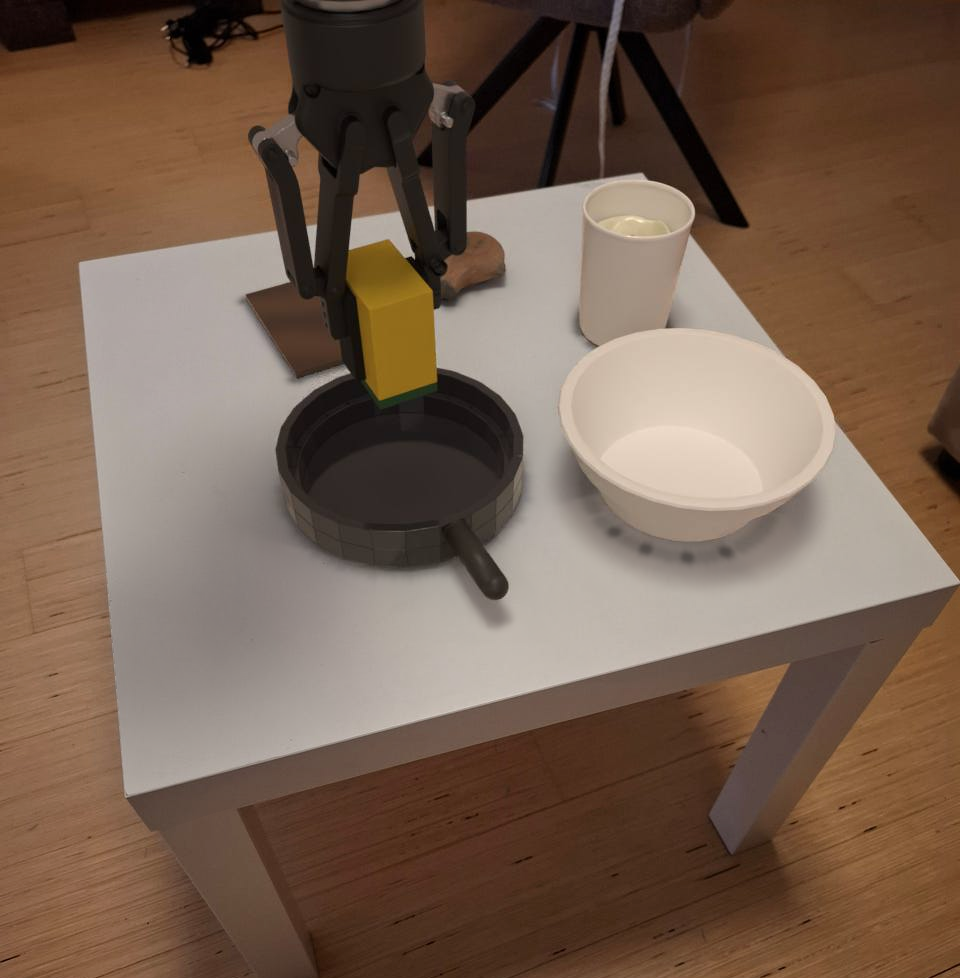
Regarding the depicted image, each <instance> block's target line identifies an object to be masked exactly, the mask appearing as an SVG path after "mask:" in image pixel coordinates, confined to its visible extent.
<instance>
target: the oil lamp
mask: <svg viewBox="0 0 960 978" xmlns="http://www.w3.org/2000/svg"><path fill="white" fill-rule="evenodd" d="M505 258H506V255H505V250H504V248H503V245H502V244H501V242H499V240H498V239H496V238H495V237H493V236H492V235H491V234H488V233H486V232H483V231H473V230H472V231H471V230H470V231H467V247H466V250H465V252H464V253H463V254H461V255H459V256H455V255H453V254H452V255H451V256H449V257H448V258H447V259H445V260H444V261H445V262H446V263H447V265H448V270H447V272H446V273H445V275H443V276H442V277H441V299H442V300H444V299H448V300H453V299H455V298H456V296H457V295H458V293H459V292H460V291H461V290H462V289H464V288H466V287H468V286H472V285H477V284H479V283H482V282H486V281H489V280H491V279H494V278H497V277H499V278H500V277H501V276H503V275H504V274H505V273H506V272H507V269H506V262H505V260H506V259H505Z"/></svg>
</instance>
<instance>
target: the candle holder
mask: <svg viewBox="0 0 960 978" xmlns="http://www.w3.org/2000/svg"><path fill="white" fill-rule="evenodd" d="M581 212H582V222H581V223H582V224H581V225H582V227H581V253H580V254H581V255H580V277H579V278H580V279H579V311H578V313H579V318H578V319H579V321H578V322H579V328H580V330H581V333H582V334H583V335H584V337H585V338H586V339H588V341H590V342H591V343H593V344H594V345H596V346H597V347H599V346H601V345H603V344H605V343H607V342H610V341H612V340H614V339H616V338H619V337H623V336H626V335H629V334H633V333H636V332H642V331H648V330H655V329H666V327H667V323H668V320H669V316H670V312H671V309H672V305H673V301H674V297H675V293H676V289H677V285H678V282H679V278H680V273H681V269H682V264H683V261H684V257H685V254H686V249H687V246H688V243H689V238H690V233H691V230H692V226H693V223H694V221H695V219H696V209H695V206H694V203H693V202H692V200H691V199H690V198H689V197H688V196H687V195H686V194H685V193H683V192H682V191H680V190H679V189H678V188H675V187H673V186H672V185H668V184H665V183H662V182H659V181H653V180H648V179H640V178H639V179H638V178H635V179H634V178H633V179H629V178H627V179H617V180H613V181H608V182H606V183H603V184H600V185H597V186H596V187H594V188H593V189H592V190H591V191H589V192H588V193H587V195H585V197H584V199H583V201H582V205H581Z"/></svg>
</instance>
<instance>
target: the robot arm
mask: <svg viewBox="0 0 960 978" xmlns="http://www.w3.org/2000/svg"><path fill="white" fill-rule="evenodd" d="M279 6H280V11H281V12H280V13H281V18H282V26H283V32H284V37H285V38H284V39H285V45H286V52H287V57H288V64H289V70H290V76H291V83H292V84H291V85H292V88H291V93H290V97H289V99H288V100H289V101H288V104H287V114H286V115H285V116H284V117H282V118H280V119H279V120H277V121H276V122H275V123H274V124H272V125H270V126H269V127H267V128H266V127H264V126H262V125H257V124H256V125H254V126H252V127H251V128H250V129H249V131H248V134H247V140H248V143H249V144H250V146H251V148H252V149H253V151H254V153H255V154H256V156H257V157H258V159H259V162H260V163H261V165H262V166H263V168H264V172H265V178H266V183H267V187H268V192H269V197H270V202H271V206H272V212H273V217H274V222H275V227H276V232H277V237H278V241H279V247H280V252H281V256H282V261H283V267H284V272H285V275H286V278H287V279H288V281H289V282H291V283H292V285H293V286H294V288H295V289H296V291H297V292H298V293H299V295H300V296H301V297H302V298H303V299H306V300H307V299H311V298H313V297H314V296H319V299H320V306H321V311H322V318H323V324H324V326H325V327H326V328H327V330H328V331H329V333H330V334H331V336H332V337H333V339H334V340H338V339H339V341H340V348H341V355H342V361H343V363H344V364H343V365H344V366H345V367H346V369H347V370H348V372H349V374H350V373H351V374H352V376H353V377H354V379H355V380H356V382H360V381H363V380H366V373H365V364H364V356H363V348H362V340H361V332H360V324H359V316H358V308H357V300H356V296H355V295H354V294H353V292H352V291H351V290H350V288H349V287H348V286H347V284H346V273H347V262H348V252H349V250H350V241H351V233H352V231H351V230H352V221H353V211H354V199H355V196H356V195H358V193H359V187H360V176H361V175H363V174H365V173H367V172H368V171H371V170H372V169H374V168H385V169H386V172H387V175H388V179H389V182H390V185H391V187H392V191H393V195H394V198H395V200H396V204H397V207H398V211H399V214H400V217H401V220H402V223H403V227H404V230H405V233H406V235H407V239H408V243H409V245H410V249H411V251H412V253H413V254H414V257H413V255H411V256H407V257H404V258H405V259H406V260H407V261H408V262H409V263H410V265H411V266H412V267H413V268H414V269H415V271H416V272H417V273H418V274H419V275H420V277H421V278H422V279H423V280H424V281H425V282H426V284H427V285H428V286H429V287H430V288H431V290H432V291H433V306H434V311H435V310H438V309H440V307H441V304H442V300H443V299H441V277H442V276H443V275H445V273H446V272H447V270H448V265H447V263H446V262H445V261H444V260H445V259H447V258H448V257H449V256H451V255H452V254H453V255H455V256H459V255H461V254H463V253H464V252H465V250H466V247H467V232H468V197H467V196H468V193H467V191H468V187H467V186H468V185H467V183H468V182H467V181H468V177H467V176H468V175H467V173H468V172H467V171H468V170H467V168H468V167H467V165H468V164H467V163H468V161H467V153H468V152H467V150H468V149H467V138H468V135H469V131H470V127H471V124H472V121H473V117H474V114H475V110H476V101H475V99H474V98H473V97H472V96H471V95H470V94H468V92H466V90H464V89H463V88H462V87H461V86H460V85H458V84H457V83H456V81H454V80H448V79H447V80H446V81H444V82H443V83H442V84H440V83H434V82H433V81H432V79H431V77H430V76H429V74H428V71H427V68H426V62H425V61H426V57H427V48H426V47H427V46H426V26H425V24H426V23H425V6H424V0H279ZM427 114H428V116H429V119H430V120H431V156H432V157H431V159H432V185H433V187H432V189H433V215H434V216H433V217H434V223H433V219H432V216H431V212H430V209H429V206H428V202H427V199H426V194H425V192H424V191H425V190H424V188H423V185H422V181H421V177H420V174H421V169H420V164H419V161H418V157H417V154H416V151H415V147H414V144H413V142H414V139H415V138H416V135H418V134H417V133H418V132H419V130H420V128H421V126H422V124H423V122H424V120H425V118H426V116H427ZM302 138H304V139H305V140H306V141H307V142H308V143H309V144H310V145H311V146H312V147H313V148H314V150H316V151H317V152H318V157H317V170H318V174H319V188H318V189H319V191H318V204H317V215H316V216H317V217H316V219H317V220H316V231H315V233H316V234H315V246H314V259H313V257H312V250H311V245H310V239H309V233H308V227H307V222H306V216H305V210H304V205H303V198H302V194H301V193H302V192H301V188H300V184H299V180H298V177H297V174H296V173H295V170H294V168H295V167H297V165H298V163H299V156H300V155H299V151H298V150H299V149H298V143H299V141H300V139H302Z"/></svg>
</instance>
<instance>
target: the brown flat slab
mask: <svg viewBox="0 0 960 978" xmlns="http://www.w3.org/2000/svg"><path fill="white" fill-rule="evenodd" d="M245 300H246V302H247V303H248V304H249V306H250V307H251V309H252V311H253V312H254V314H255V315H256V317H257V319H258V320H259V322H260V323H261V325H262V326H263V328H264V330H265V331H266V333H267V334H268V336H269V338H270V339H271V340H272V342H273V344H274V345H275V347H276V349H278V351H279V353H280V354H281V356H282V358H283V359H284V360H285V362H286V364H287V365H288V367H289V369H290V370H291V372H292V373H293V375H294V377H295V378H296V379H299V378H302V377H305V376H308V375H313V374H315V373H318V372H321V371H324V370H328V369H331V368H334V367H337V366H341V365H345V364H344V363H343V361H342V355H341V348H340V341H339V339H338V340H334V339H333V337H332V336H331V334H330V333H329V331H328V330H327V328H326V327H325V326H324V324H323V318H322V311H321V306H320V299H319V296H314V297H313V298H311V299H307V300H306V299H303V298H302V297H301V296H300V295H299V293H298V292H297V291H296V289H295V288H294V286H293V285H292V283H291V282H290V281H289V282H286V283H282V284H278V285H274V286H271V287H267V288H263V289H260V290H255V291H252V292H249V293H246V294H245Z"/></svg>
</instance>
